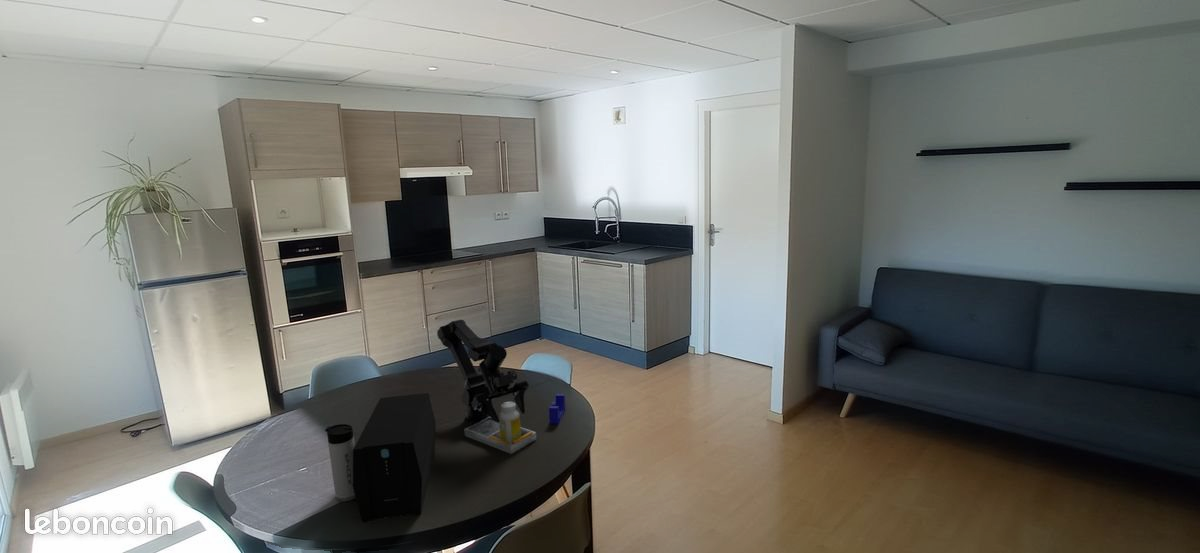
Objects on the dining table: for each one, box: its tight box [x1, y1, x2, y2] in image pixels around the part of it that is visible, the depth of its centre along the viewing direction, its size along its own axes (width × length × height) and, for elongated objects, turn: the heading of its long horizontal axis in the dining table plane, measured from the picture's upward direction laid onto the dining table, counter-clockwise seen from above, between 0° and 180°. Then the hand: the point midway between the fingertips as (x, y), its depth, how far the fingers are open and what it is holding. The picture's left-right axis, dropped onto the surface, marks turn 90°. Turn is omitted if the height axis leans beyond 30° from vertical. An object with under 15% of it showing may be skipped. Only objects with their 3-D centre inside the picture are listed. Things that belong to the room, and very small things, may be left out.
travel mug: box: [325, 423, 356, 502], centre depth 146 cm, size 6×7×20 cm
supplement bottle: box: [498, 401, 522, 445], centre depth 173 cm, size 7×7×13 cm
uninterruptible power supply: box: [353, 392, 437, 523], centre depth 152 cm, size 16×34×20 cm, turn 11°
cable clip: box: [548, 393, 566, 425], centre depth 192 cm, size 12×4×6 cm, turn 172°
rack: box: [463, 417, 537, 455], centre depth 177 cm, size 22×11×3 cm, turn 53°
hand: (511, 417), depth 172 cm, fingers open, 9 cm apart
